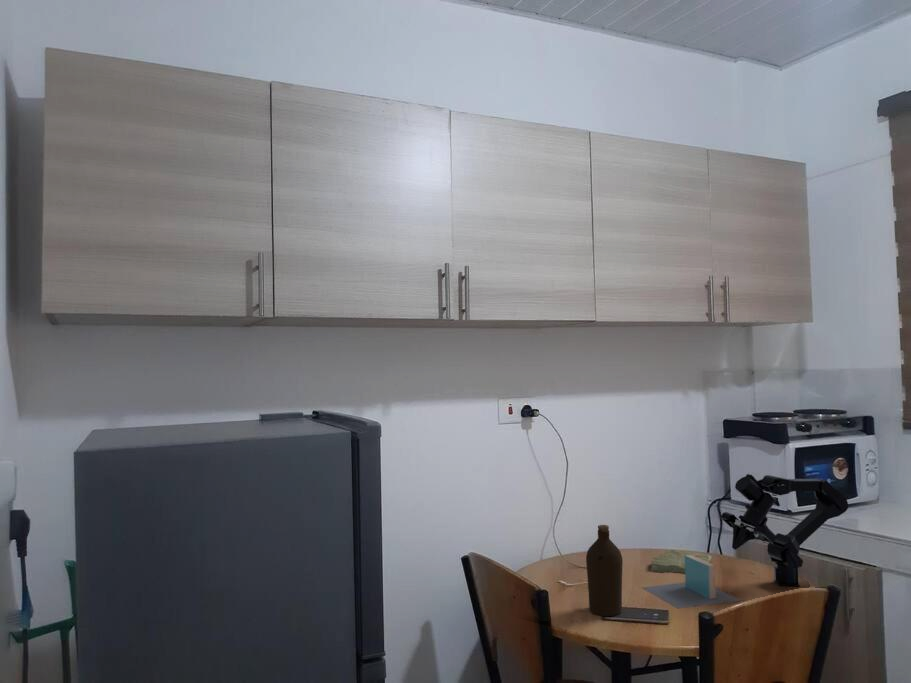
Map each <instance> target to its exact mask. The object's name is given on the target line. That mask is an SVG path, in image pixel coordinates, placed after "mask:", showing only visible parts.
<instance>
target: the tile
mask: <svg viewBox="0 0 911 683" xmlns="http://www.w3.org/2000/svg"><path fill="white" fill-rule="evenodd" d="M715 567H716V565H715V564H713V563H708V562H706V561H704V560H702V559H699V558H697V557H695V556H692V555H686V556H685V573H684V578H685V580H684V581H685V585H686V587H687V588H689V589H691V590H693V591H695V592H697V593H699V594H701V595H702V596H704V597H706V598H708V599H711V598H716V594H715V588H716V572H715V571H716V568H715Z"/></svg>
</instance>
